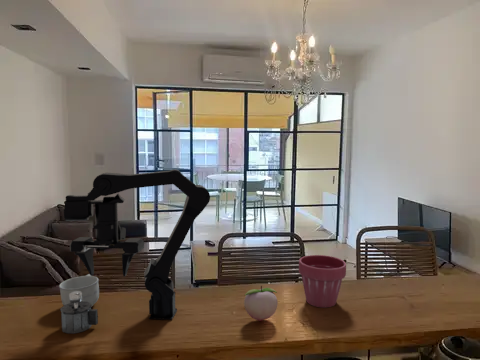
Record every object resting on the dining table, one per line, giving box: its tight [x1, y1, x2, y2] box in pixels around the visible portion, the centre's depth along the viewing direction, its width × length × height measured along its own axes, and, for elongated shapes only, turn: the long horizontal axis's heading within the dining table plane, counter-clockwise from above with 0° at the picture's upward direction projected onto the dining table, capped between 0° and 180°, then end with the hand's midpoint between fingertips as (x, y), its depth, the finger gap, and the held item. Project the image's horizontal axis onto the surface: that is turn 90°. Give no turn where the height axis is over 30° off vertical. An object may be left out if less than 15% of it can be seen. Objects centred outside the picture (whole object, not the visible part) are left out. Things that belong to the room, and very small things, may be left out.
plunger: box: [69, 291, 82, 309], centre depth 105 cm, size 5×5×8 cm
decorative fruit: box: [243, 285, 279, 322], centre depth 108 cm, size 9×8×10 cm
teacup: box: [58, 273, 100, 307], centre depth 120 cm, size 14×11×8 cm
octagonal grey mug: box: [59, 301, 99, 334], centre depth 105 cm, size 9×7×6 cm
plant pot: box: [298, 254, 347, 308], centre depth 122 cm, size 14×14×13 cm
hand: (108, 275), depth 109 cm, fingers open, 9 cm apart
